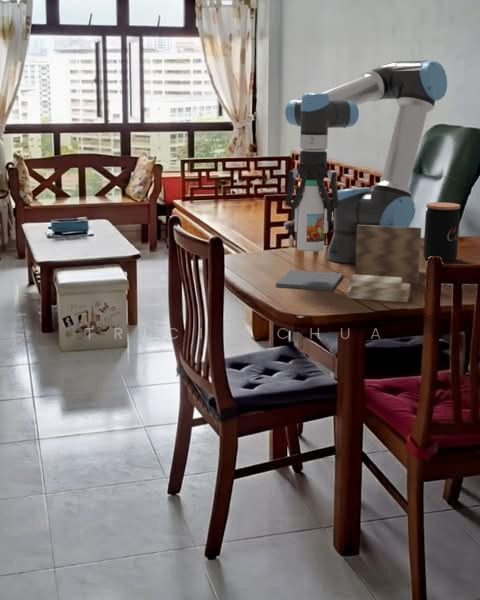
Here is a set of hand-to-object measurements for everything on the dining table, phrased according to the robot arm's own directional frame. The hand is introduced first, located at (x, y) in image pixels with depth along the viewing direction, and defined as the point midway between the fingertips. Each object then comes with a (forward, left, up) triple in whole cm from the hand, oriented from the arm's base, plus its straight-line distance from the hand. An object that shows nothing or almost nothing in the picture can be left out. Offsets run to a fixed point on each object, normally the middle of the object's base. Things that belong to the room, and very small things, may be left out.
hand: (311, 231), depth 239 cm
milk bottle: (0, 0, -5) cm, 5 cm away
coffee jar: (+34, +44, -15) cm, 58 cm away
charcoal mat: (0, 0, -15) cm, 15 cm away
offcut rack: (+21, -3, -15) cm, 26 cm away
